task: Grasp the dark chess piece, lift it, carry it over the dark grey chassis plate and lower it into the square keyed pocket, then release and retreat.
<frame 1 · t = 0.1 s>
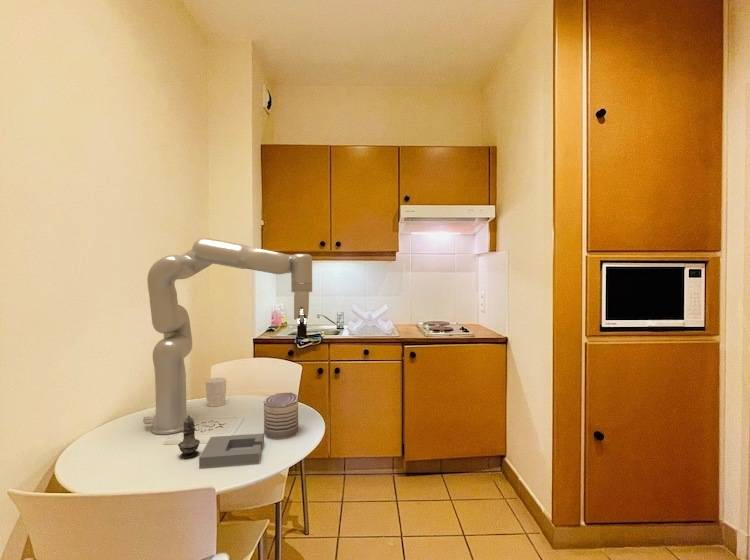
hand: (302, 334, 147), 31 cm above the table, fingers open, 9 cm apart
chassis plate: (233, 454, 120), on the table
white cup: (216, 404, 165), on the table
dark chess piece: (189, 455, 120), on the table
can: (281, 433, 136), on the table
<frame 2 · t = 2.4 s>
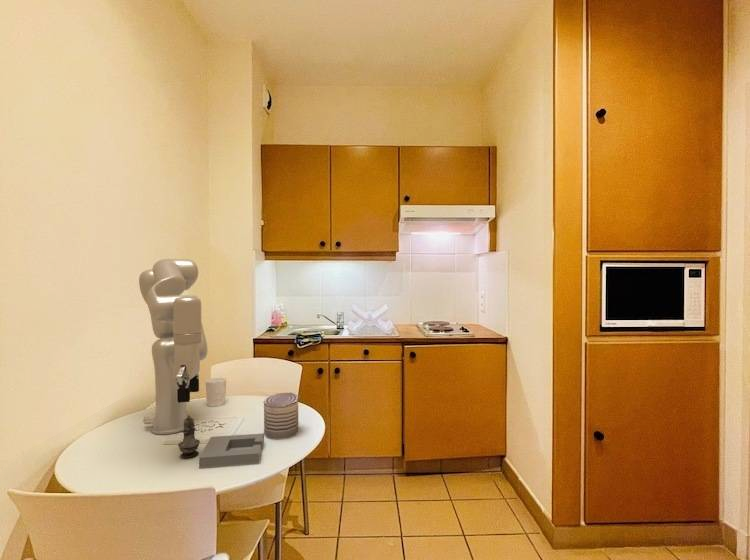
hand: (188, 396, 119), 18 cm above the table, fingers open, 9 cm apart
nothing on the table moved.
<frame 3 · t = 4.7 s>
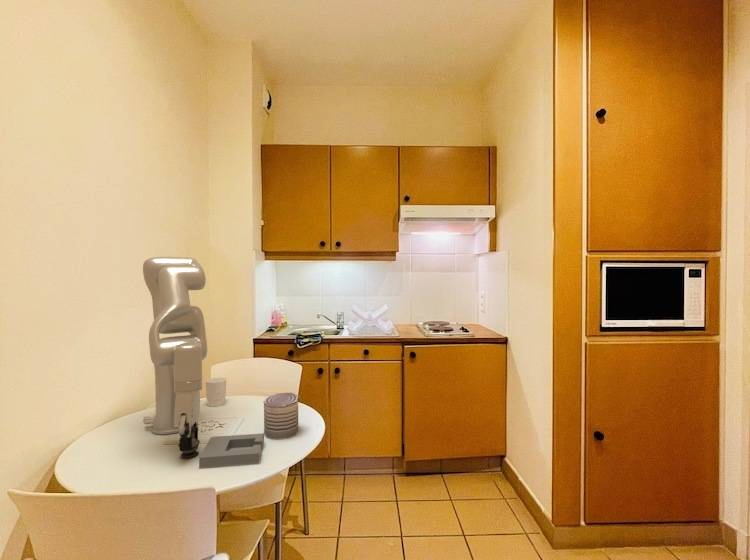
hand: (189, 444, 120), 3 cm above the table, fingers closed on dark chess piece, 5 cm apart
dark chess piece: (189, 455, 120), on the table, touching gripper
everything else where it was.
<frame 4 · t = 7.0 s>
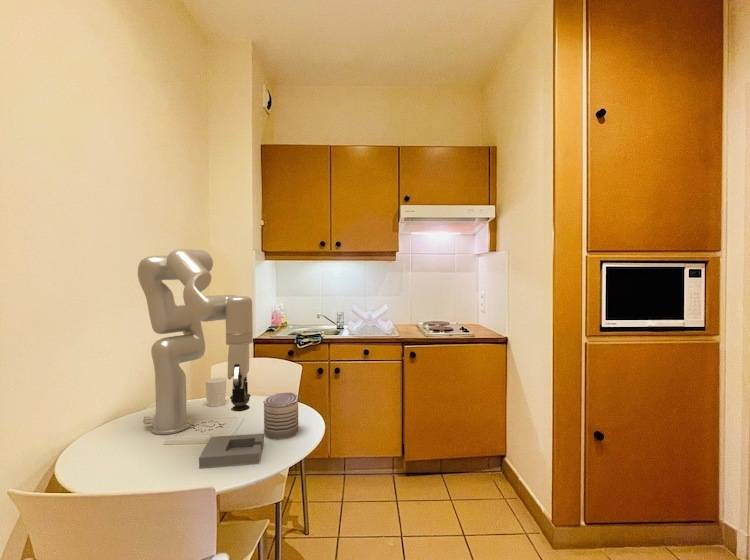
hand: (240, 398, 120), 17 cm above the table, fingers closed on dark chess piece, 5 cm apart
dark chess piece: (240, 409, 120), point 14 cm above the table, touching gripper
everything else where it was.
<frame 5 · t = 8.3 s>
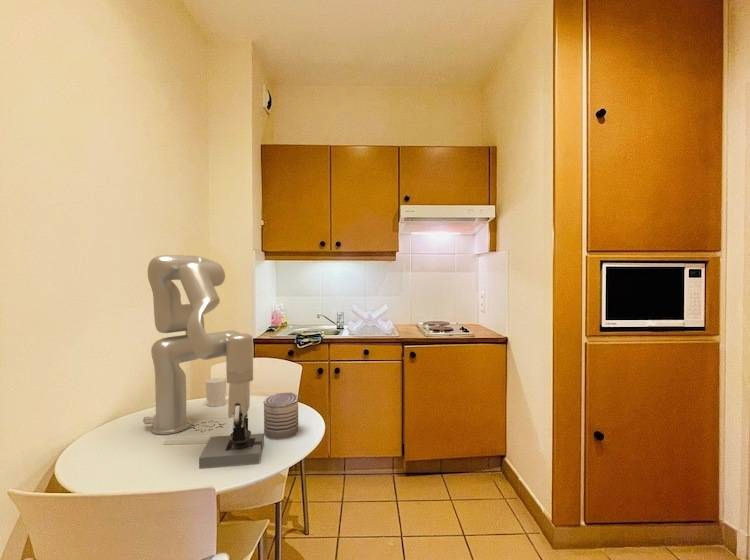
hand: (240, 435, 120), 6 cm above the table, fingers closed on dark chess piece, 5 cm apart
dark chess piece: (241, 446, 120), point 2 cm above the table, touching gripper
everything else where it was.
when the fingers open (4 cm above the table, at t = 9.3 s): dark chess piece stays where it is, resting on chassis plate.
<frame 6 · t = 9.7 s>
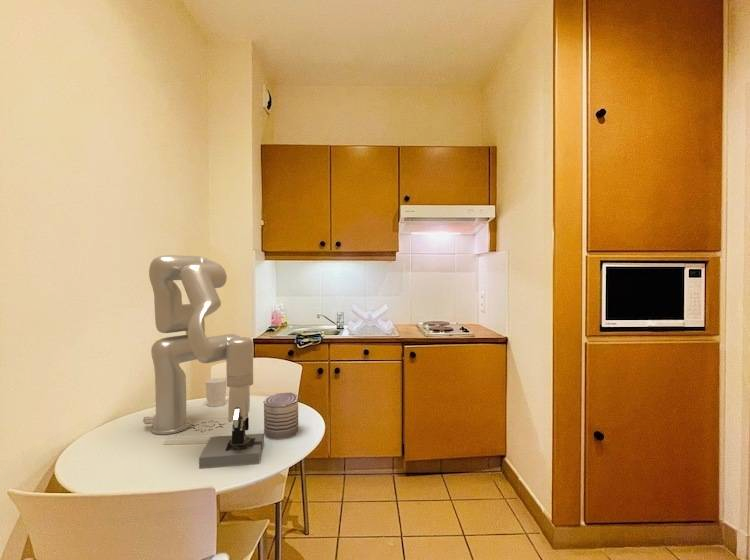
hand: (240, 436, 120), 5 cm above the table, fingers open, 9 cm apart
dark chess piece: (240, 453, 120), resting on chassis plate
everything else where it was.
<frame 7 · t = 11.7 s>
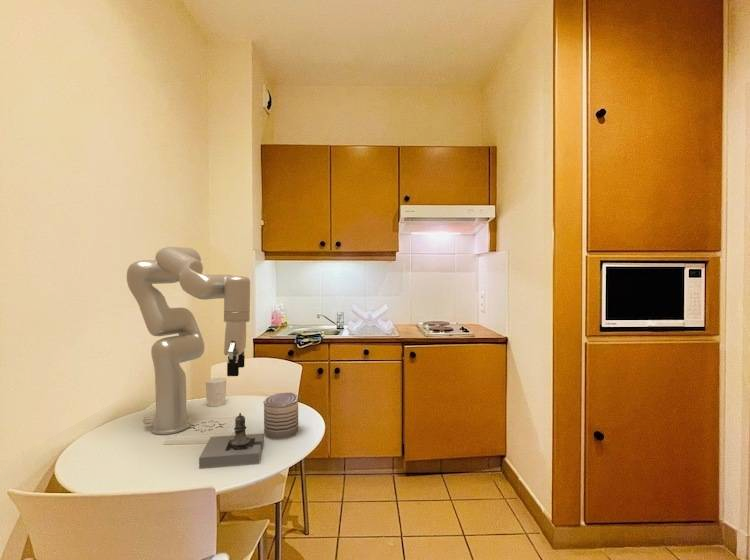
hand: (236, 371, 125), 24 cm above the table, fingers open, 9 cm apart
nothing on the table moved.
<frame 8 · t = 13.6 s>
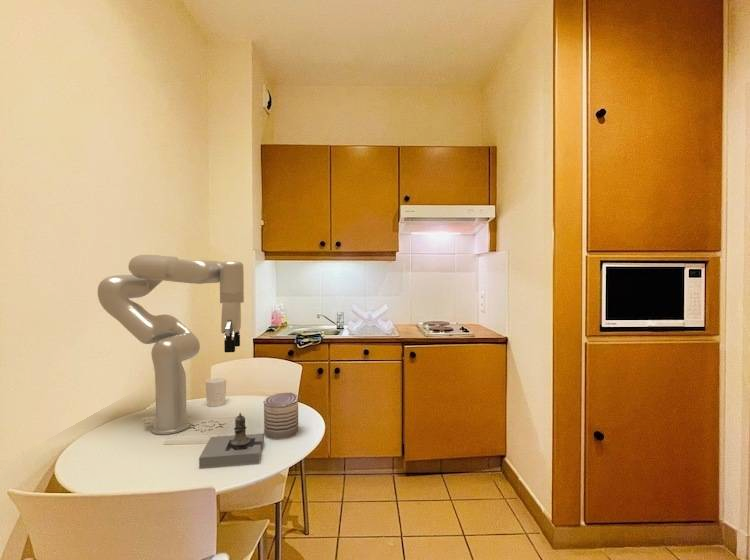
hand: (232, 349, 135), 28 cm above the table, fingers open, 9 cm apart
nothing on the table moved.
at the end: dark chess piece 0.1 cm from the target spot on the chassis plate, point 0.2 cm above the chassis plate's base; dark chess piece tilted 0°; the gripper is holding nothing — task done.
